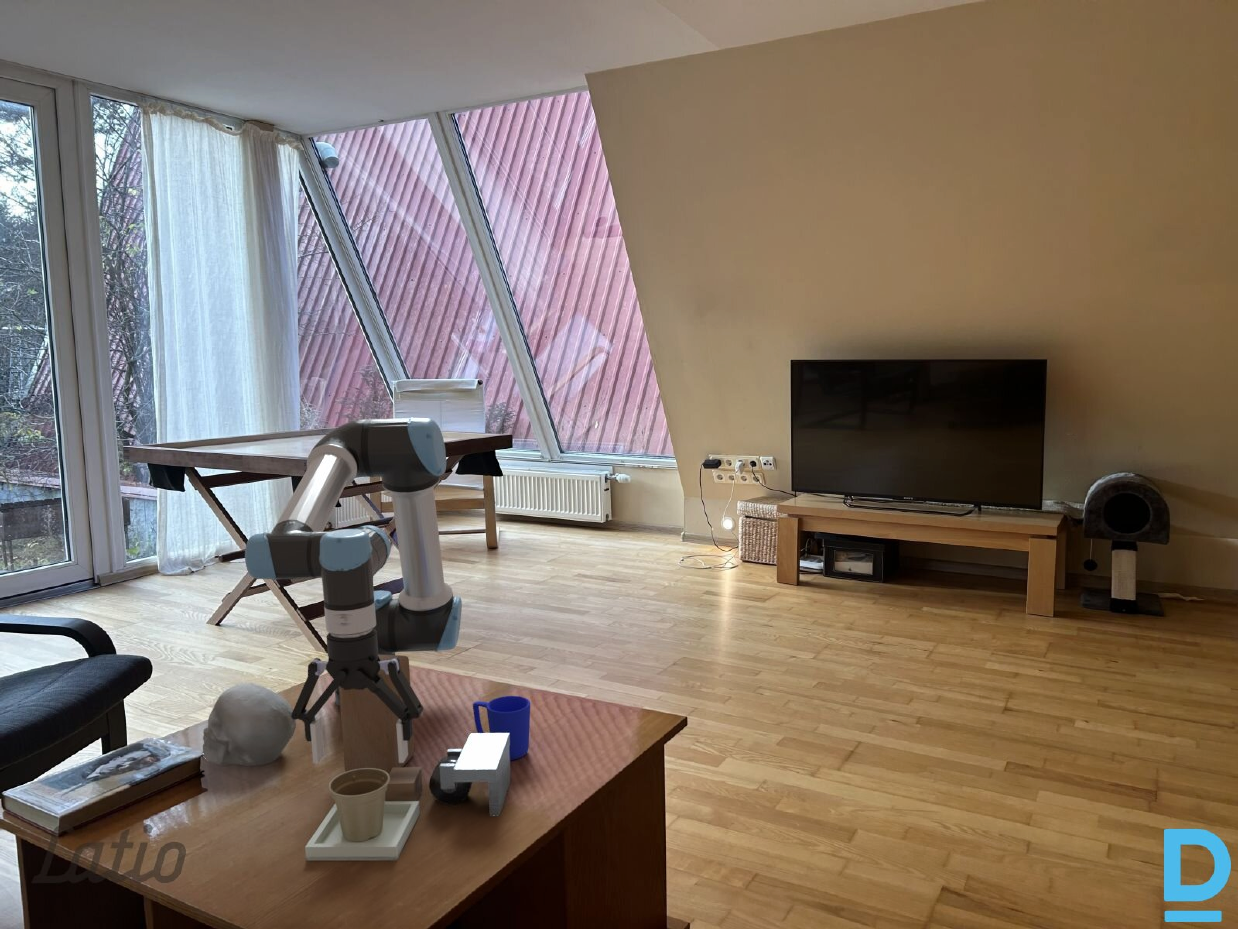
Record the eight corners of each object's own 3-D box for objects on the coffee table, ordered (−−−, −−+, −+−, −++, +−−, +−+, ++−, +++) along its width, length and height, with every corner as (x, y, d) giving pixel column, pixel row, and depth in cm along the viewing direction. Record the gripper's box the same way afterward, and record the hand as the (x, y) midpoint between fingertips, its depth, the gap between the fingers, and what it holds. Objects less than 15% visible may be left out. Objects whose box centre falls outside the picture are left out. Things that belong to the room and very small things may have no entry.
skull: (228, 737, 188) (229, 667, 185) (307, 756, 183) (309, 684, 181) (182, 766, 176) (182, 691, 173) (265, 787, 171) (267, 711, 168)
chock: (394, 792, 164) (392, 767, 163) (422, 791, 164) (421, 767, 163) (385, 809, 158) (383, 784, 157) (415, 808, 158) (413, 783, 157)
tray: (337, 814, 156) (336, 801, 156) (420, 813, 155) (419, 801, 155) (306, 860, 142) (305, 847, 142) (396, 860, 142) (395, 846, 141)
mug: (488, 738, 184) (486, 690, 183) (540, 749, 179) (538, 699, 177) (463, 755, 177) (460, 705, 176) (516, 767, 171) (514, 715, 170)
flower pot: (396, 841, 146) (392, 789, 145) (333, 853, 143) (329, 800, 142) (389, 813, 155) (386, 763, 154) (330, 824, 152) (327, 774, 150)
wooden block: (393, 779, 168) (387, 673, 165) (342, 775, 170) (335, 670, 167) (416, 755, 178) (410, 654, 175) (368, 751, 180) (361, 651, 177)
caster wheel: (442, 779, 167) (439, 733, 166) (511, 779, 167) (509, 733, 166) (423, 819, 153) (420, 769, 152) (498, 819, 153) (496, 769, 152)
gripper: (262, 639, 141) (274, 771, 144) (425, 637, 140) (433, 770, 143) (281, 623, 148) (292, 748, 152) (436, 621, 147) (444, 747, 151)
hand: (361, 759), depth 148 cm, fingers open, 13 cm apart
